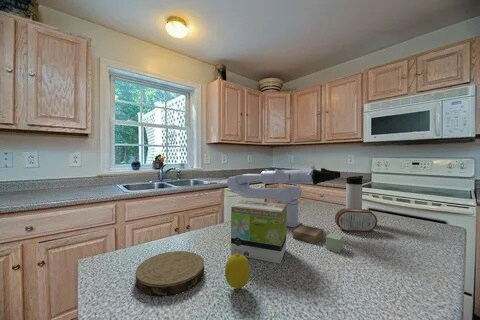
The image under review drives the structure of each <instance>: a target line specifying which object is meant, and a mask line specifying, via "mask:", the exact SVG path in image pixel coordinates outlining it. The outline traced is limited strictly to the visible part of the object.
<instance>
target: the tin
mask: <svg viewBox="0 0 480 320" xmlns="http://www.w3.org/2000/svg"><path fill="white" fill-rule="evenodd" d="M334 221H335V224H336V226H337V227H338V228H340V230H343V231H345V232H361V233H364V232H365V233H369V232H372V231H374V230H375V229H376V227H377V225H378V218H377V216H376V214H375V213H374V212H372V210H369V209H366V208H362V209H346V208H342V209H340V210H338V211H337V212H336V214H335V216H334Z"/></svg>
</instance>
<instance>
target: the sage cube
mask: <svg viewBox="0 0 480 320" xmlns="http://www.w3.org/2000/svg"><path fill="white" fill-rule="evenodd" d="M343 245H344V236H343V235H341V234H336V233H331V232H330V233H328V234H327V235H326V236H325V250H327V251H331V252H334V253H341V251H342V250H343V248H344V246H343Z"/></svg>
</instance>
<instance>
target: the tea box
mask: <svg viewBox="0 0 480 320" xmlns="http://www.w3.org/2000/svg"><path fill="white" fill-rule="evenodd" d="M230 212H231V213H230V255H231V256H232V255H234V254H236V253H239V254H241V255H243V256H244V257H246V258H248V259H255V260H258V261H264V262H269V263H274V264H278V265H280V264H282V260H283V257H284V256H285V252H286V248H287V227H288V226H287V204H278V203H277V202H267V201H255V200H244V199H243V200H240V201H239V202H237V203H236V204H234V205H232V206H231V209H230Z"/></svg>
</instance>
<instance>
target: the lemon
mask: <svg viewBox="0 0 480 320" xmlns="http://www.w3.org/2000/svg"><path fill="white" fill-rule="evenodd" d="M249 263H250V262H249V259H247V257H244V256H243V255H241V254H239V253H236V254H234V255H231V256H229V258H228V259H227V261H226V264H225V270H224V275H225V280H226V282H227V284H229V286H230V287H232V288H234V289H236V290H240V289H242V288H244V287H245V286H246V285H247V283H248V282H249V280H250V277H251V268H250V267H251V266H250V264H249Z"/></svg>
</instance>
